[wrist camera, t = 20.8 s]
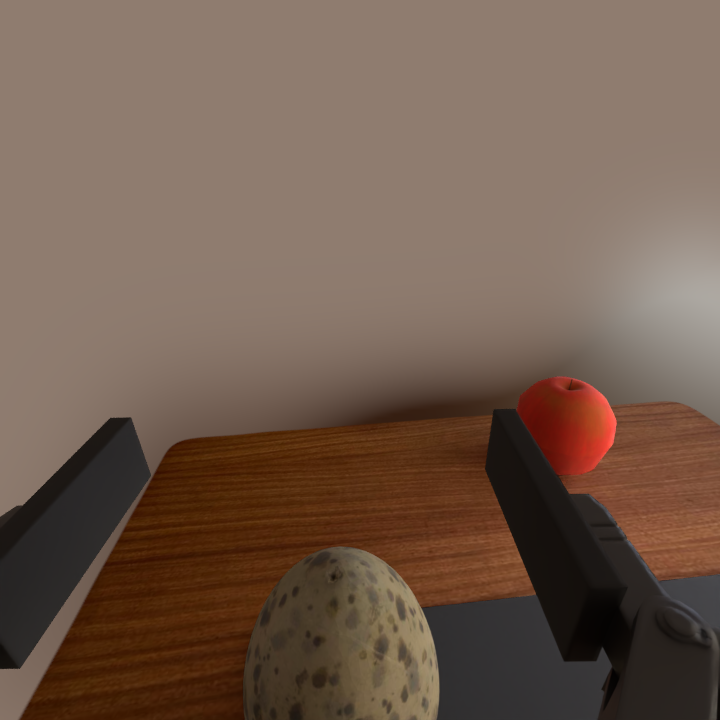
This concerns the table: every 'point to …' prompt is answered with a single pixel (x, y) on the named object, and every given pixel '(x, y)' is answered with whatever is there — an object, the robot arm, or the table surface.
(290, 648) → the decorative egg
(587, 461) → the apple
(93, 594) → the table surface
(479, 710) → the mat
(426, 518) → the table surface
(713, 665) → the robot arm
